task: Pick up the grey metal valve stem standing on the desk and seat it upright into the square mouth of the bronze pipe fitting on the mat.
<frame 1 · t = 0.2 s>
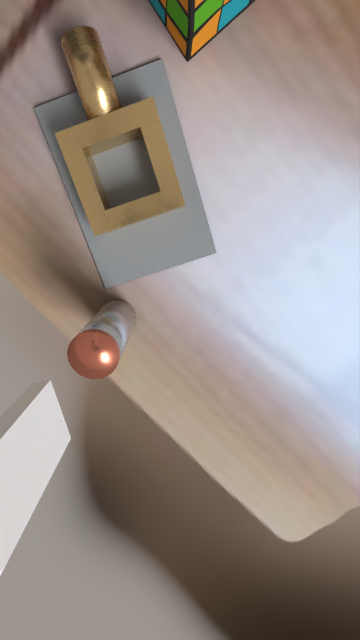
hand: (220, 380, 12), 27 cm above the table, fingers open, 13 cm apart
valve: (118, 317, 40), on the table
fitting socket: (128, 176, 35), resting on mat
mat: (131, 185, 35), on the table
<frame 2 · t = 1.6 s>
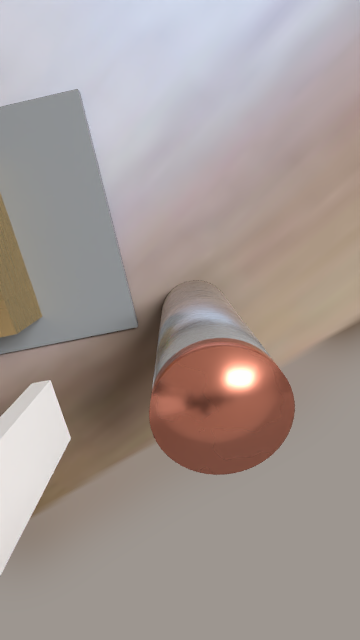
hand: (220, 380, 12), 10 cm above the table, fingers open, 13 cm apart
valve: (195, 313, 21), on the table
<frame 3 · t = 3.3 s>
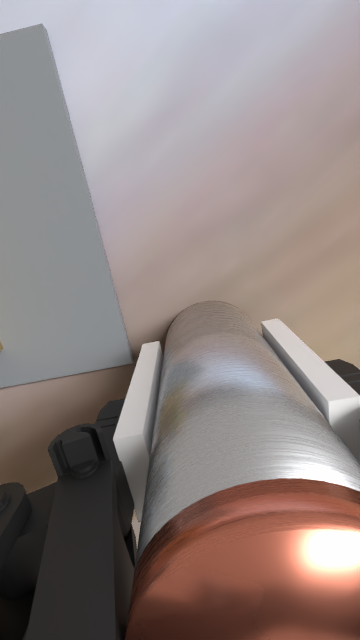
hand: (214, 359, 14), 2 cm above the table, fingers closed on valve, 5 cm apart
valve: (211, 345, 16), on the table, touching gripper
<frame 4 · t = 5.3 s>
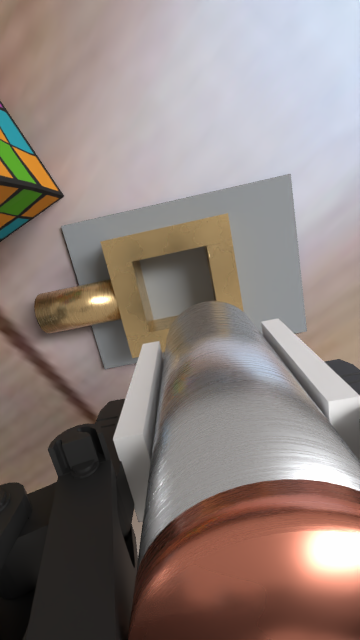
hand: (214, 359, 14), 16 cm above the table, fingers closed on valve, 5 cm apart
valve: (211, 345, 16), point 14 cm above the table, touching gripper
fitting socket: (178, 282, 29), resting on mat
mat: (188, 280, 29), on the table
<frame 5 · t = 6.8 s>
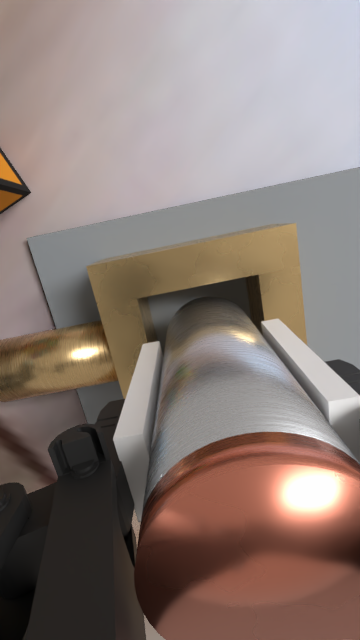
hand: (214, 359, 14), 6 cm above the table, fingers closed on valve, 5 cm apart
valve: (209, 338, 17), point 3 cm above the table, touching gripper
fitting socket: (202, 320, 20), resting on mat
mat: (217, 317, 20), on the table
when the fingers open (5 cm above the table, at t = 7.5 s): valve drops 2 cm, resting on mat.
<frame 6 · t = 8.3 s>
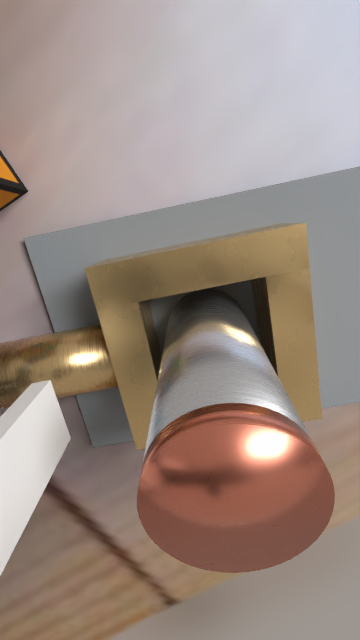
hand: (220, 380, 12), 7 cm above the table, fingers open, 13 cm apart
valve: (206, 326, 19), point 1 cm above the table, touching mat
fitting socket: (205, 324, 19), resting on mat
mat: (221, 321, 19), on the table
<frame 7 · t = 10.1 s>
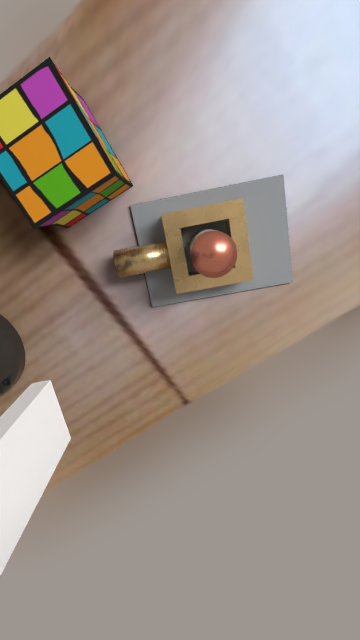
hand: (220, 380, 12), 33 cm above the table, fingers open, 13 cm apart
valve: (206, 246, 43), resting on mat
fitting socket: (206, 246, 43), resting on mat
toy: (75, 167, 41), on the table
mat: (213, 244, 43), on the table
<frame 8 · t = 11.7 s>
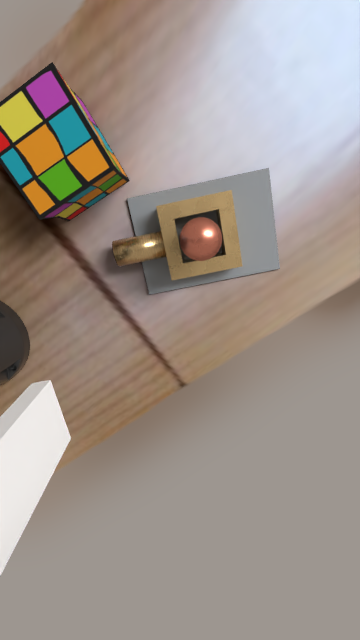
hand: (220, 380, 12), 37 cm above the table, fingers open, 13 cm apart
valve: (199, 236, 46), resting on mat
fitting socket: (198, 236, 46), resting on mat
toy: (75, 163, 44), on the table
mat: (205, 234, 46), on the table
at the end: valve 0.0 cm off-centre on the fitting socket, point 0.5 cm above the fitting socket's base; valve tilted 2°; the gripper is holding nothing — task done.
